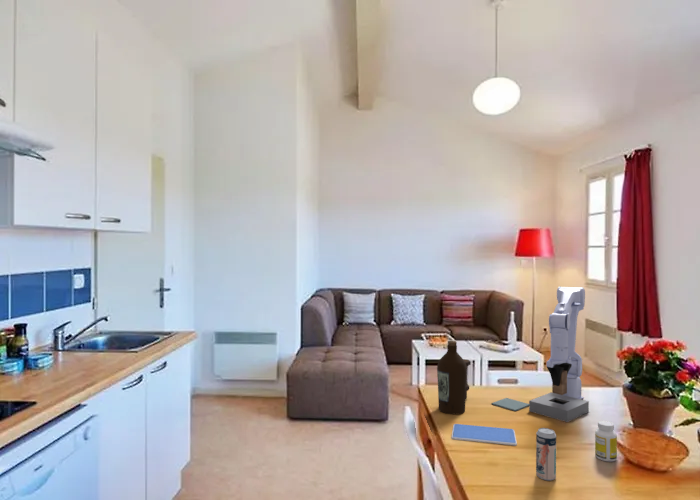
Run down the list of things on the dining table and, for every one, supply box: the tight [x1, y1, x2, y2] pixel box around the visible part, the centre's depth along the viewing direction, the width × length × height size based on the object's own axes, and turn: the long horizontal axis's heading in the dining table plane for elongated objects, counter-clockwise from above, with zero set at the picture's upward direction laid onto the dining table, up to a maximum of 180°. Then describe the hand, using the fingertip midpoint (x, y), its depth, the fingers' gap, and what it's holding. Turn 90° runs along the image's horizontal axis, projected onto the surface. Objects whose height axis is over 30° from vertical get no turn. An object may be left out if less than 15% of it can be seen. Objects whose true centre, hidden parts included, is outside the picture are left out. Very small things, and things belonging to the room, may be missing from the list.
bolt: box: [462, 358, 472, 400], centre depth 187 cm, size 6×5×15 cm
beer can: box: [535, 427, 557, 481], centre depth 123 cm, size 5×5×12 cm
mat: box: [491, 397, 529, 412], centre depth 180 cm, size 10×10×1 cm
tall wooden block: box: [551, 370, 567, 395], centre depth 172 cm, size 4×4×8 cm
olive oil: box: [436, 340, 468, 415], centre depth 174 cm, size 11×11×25 cm
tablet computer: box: [450, 423, 518, 446], centre depth 151 cm, size 19×13×1 cm, turn 75°
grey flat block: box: [528, 391, 590, 423], centre depth 173 cm, size 16×14×4 cm
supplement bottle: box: [594, 420, 618, 462], centre depth 134 cm, size 5×5×10 cm
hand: (559, 384), depth 173 cm, fingers closed on tall wooden block, 4 cm apart
